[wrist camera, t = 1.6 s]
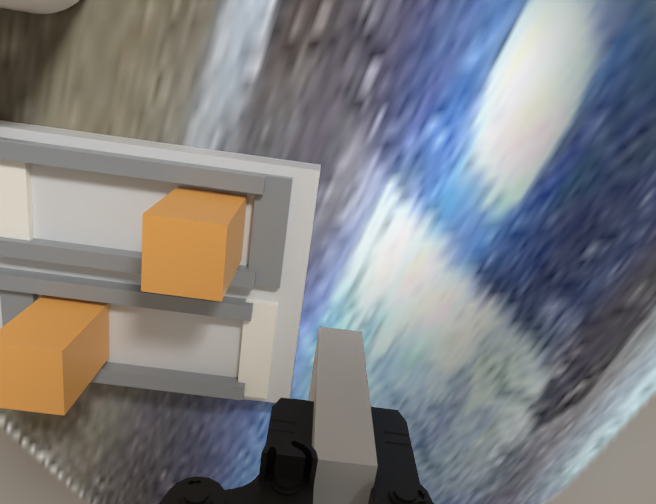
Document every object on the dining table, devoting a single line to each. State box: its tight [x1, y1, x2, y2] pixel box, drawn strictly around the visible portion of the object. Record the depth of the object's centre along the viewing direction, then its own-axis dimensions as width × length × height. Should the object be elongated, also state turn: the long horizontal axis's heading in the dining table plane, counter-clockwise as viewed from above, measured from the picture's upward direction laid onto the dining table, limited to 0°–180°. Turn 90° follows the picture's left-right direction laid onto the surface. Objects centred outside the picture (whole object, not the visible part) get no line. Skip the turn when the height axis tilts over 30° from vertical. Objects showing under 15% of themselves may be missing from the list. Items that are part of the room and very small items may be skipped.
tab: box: [0, 295, 109, 416], centre depth 30 cm, size 4×4×6 cm
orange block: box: [141, 186, 247, 302], centre depth 28 cm, size 4×4×6 cm
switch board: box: [0, 120, 321, 403], centre depth 33 cm, size 22×16×3 cm
